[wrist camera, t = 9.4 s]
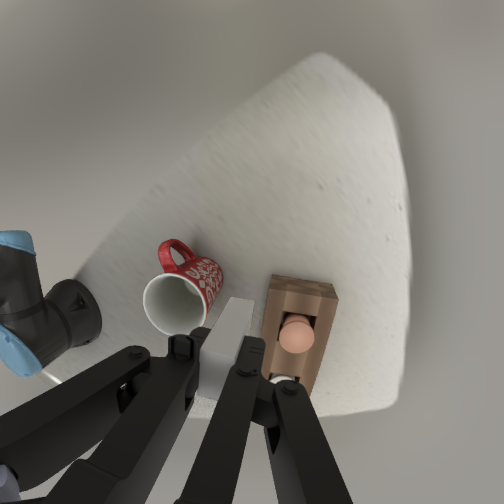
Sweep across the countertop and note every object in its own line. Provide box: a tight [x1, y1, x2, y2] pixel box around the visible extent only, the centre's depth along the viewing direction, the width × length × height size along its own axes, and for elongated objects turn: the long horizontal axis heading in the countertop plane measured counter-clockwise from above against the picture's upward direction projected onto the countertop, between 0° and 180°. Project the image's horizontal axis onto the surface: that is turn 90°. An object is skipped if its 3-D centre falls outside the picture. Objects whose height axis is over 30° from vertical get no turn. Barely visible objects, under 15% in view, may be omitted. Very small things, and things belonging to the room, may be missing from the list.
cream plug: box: [269, 373, 295, 384], centre depth 45 cm, size 5×5×7 cm
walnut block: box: [260, 275, 339, 397], centre depth 45 cm, size 10×22×7 cm, turn 172°
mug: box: [143, 239, 223, 336], centre depth 41 cm, size 13×9×14 cm
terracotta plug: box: [279, 312, 314, 353], centre depth 40 cm, size 5×5×7 cm
